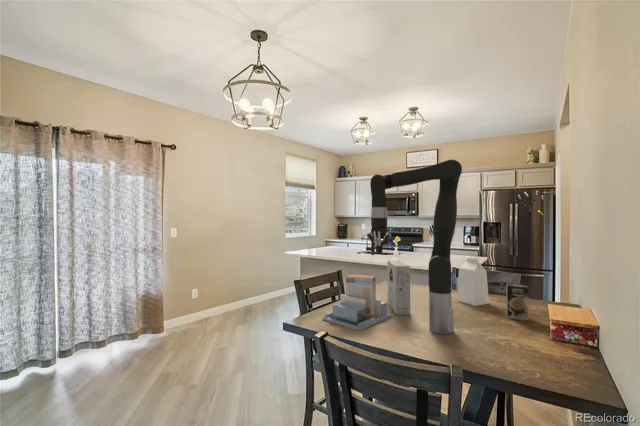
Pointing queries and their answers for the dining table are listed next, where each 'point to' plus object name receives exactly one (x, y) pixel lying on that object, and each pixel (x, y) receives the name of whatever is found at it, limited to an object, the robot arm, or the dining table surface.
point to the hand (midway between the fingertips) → (379, 253)
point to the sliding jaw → (350, 310)
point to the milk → (472, 283)
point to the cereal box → (399, 286)
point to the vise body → (380, 314)
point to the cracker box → (363, 291)
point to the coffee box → (517, 302)
